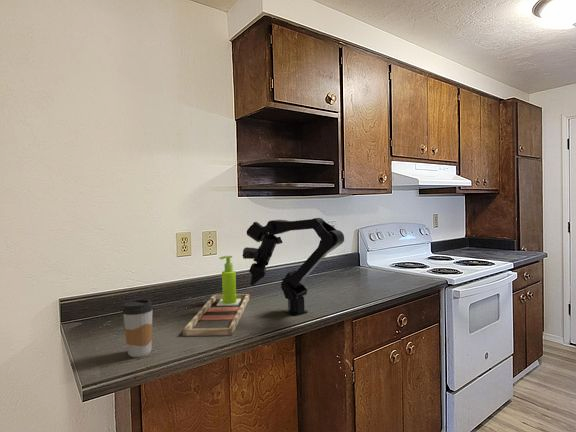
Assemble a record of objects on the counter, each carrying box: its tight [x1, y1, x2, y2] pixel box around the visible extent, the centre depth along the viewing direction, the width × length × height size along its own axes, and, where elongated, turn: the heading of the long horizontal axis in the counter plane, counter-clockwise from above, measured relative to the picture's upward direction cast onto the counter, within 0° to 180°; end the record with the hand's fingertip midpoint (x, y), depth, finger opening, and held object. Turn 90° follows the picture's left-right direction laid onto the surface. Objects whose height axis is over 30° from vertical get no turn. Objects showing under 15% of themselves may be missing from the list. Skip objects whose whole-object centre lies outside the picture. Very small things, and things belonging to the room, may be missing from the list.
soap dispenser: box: [219, 255, 237, 304], centre depth 155 cm, size 6×7×20 cm
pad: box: [216, 299, 242, 307], centre depth 156 cm, size 9×9×1 cm
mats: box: [199, 306, 240, 321], centre depth 140 cm, size 15×13×1 cm
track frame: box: [182, 293, 251, 337], centre depth 140 cm, size 44×16×2 cm, turn 179°
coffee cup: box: [121, 298, 154, 358], centre depth 105 cm, size 8×8×15 cm
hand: (253, 280), depth 150 cm, fingers open, 9 cm apart
